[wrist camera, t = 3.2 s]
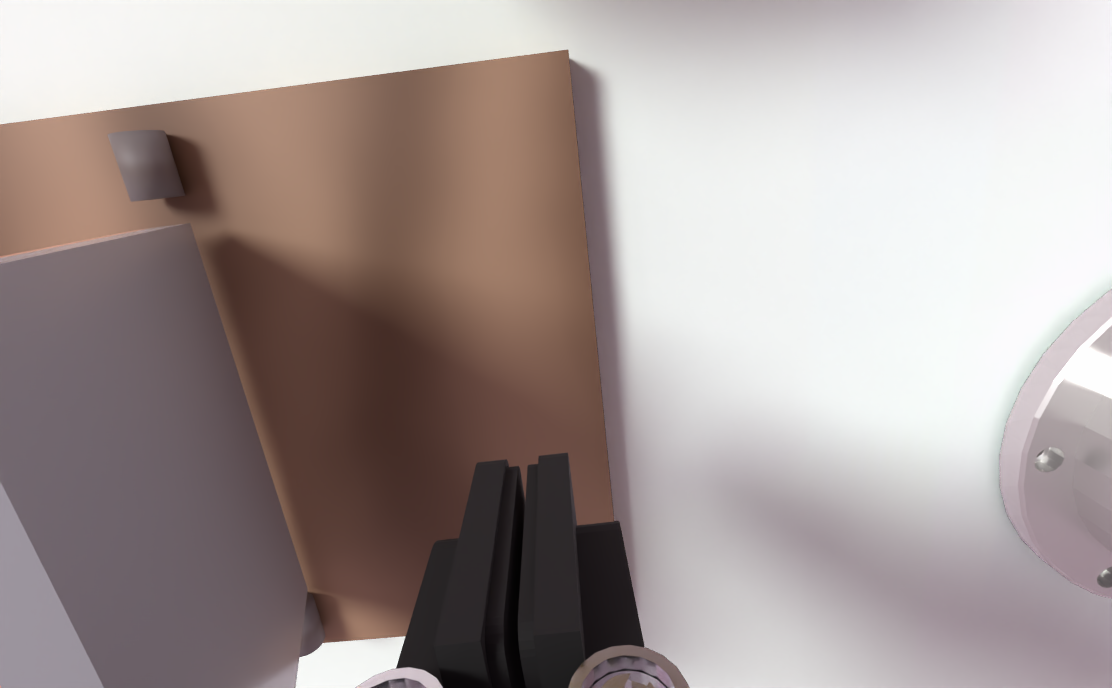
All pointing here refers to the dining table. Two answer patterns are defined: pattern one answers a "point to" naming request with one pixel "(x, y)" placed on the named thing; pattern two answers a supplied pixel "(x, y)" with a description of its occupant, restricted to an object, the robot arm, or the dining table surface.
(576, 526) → the robot arm
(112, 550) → the tile
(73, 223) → the hinge board
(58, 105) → the dining table surface
